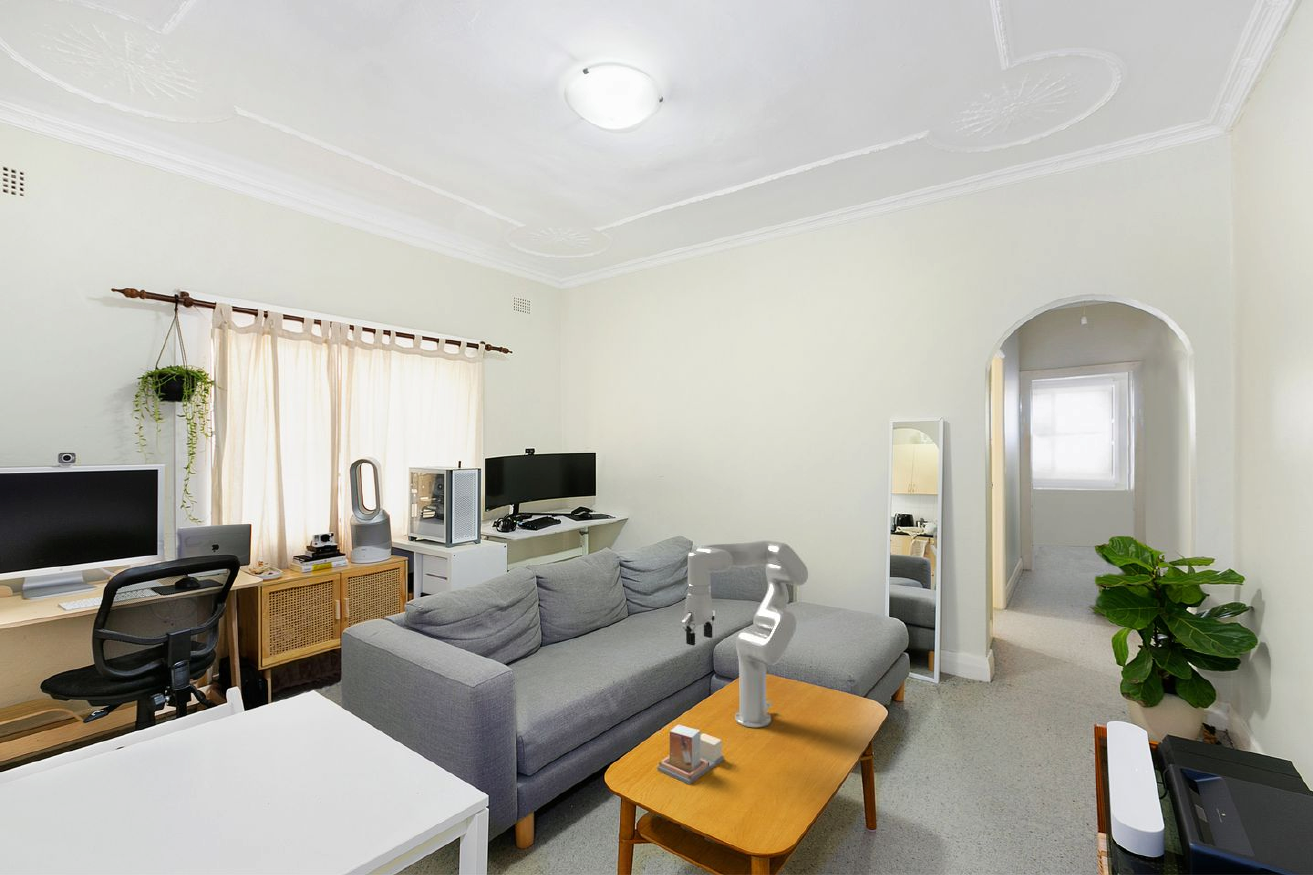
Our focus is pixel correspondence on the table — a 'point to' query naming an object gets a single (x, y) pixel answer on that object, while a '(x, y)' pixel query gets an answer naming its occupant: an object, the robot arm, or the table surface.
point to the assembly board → (708, 760)
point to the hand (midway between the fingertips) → (699, 640)
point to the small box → (684, 748)
